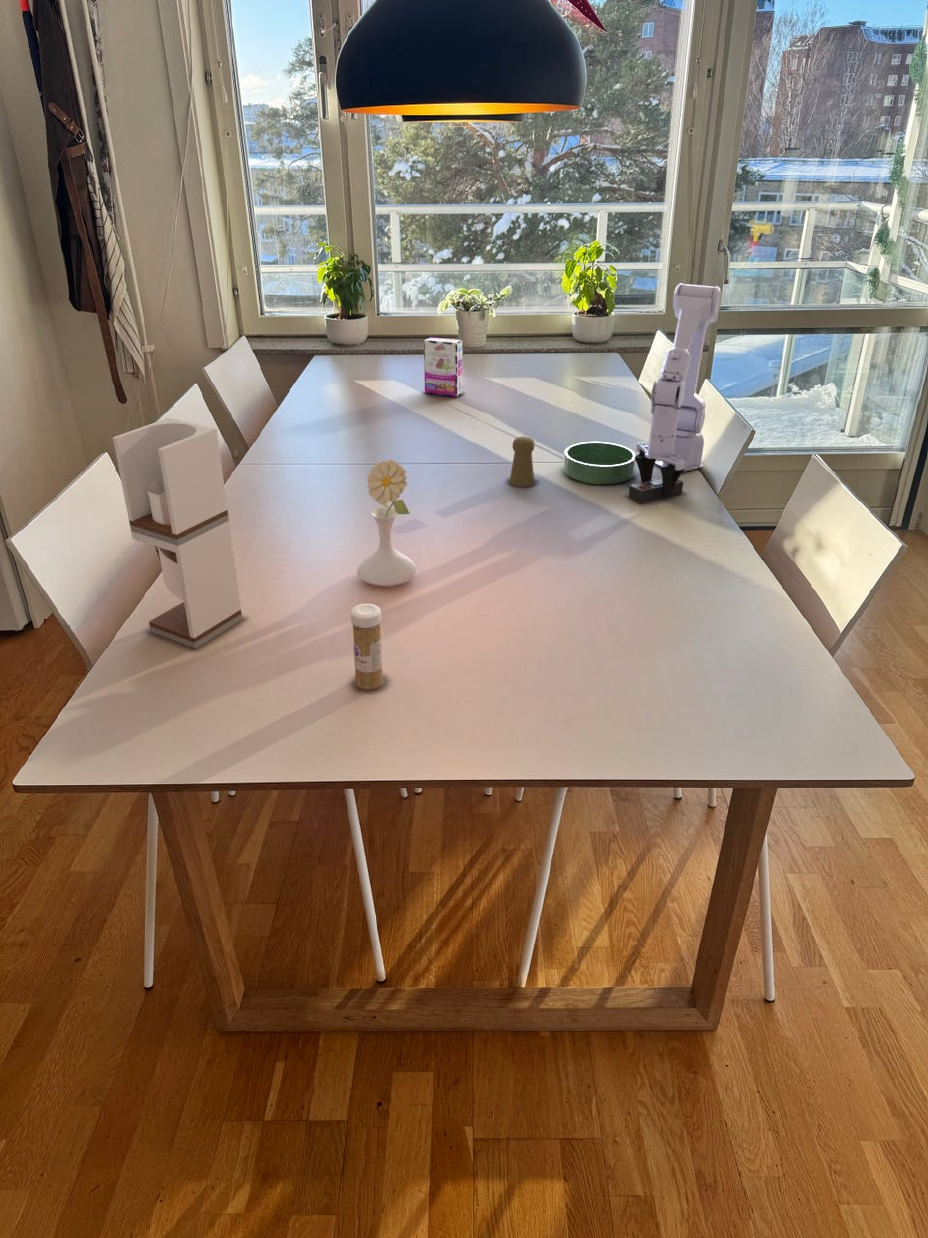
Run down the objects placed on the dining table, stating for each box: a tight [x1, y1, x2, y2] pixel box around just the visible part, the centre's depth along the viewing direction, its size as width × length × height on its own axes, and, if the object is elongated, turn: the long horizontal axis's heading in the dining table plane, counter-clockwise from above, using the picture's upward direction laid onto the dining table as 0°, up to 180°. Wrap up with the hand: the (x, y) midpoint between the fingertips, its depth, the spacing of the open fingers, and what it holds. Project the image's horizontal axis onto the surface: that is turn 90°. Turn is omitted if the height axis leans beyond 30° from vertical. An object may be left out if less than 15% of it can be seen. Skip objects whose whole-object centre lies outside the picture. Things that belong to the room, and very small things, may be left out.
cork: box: [509, 436, 535, 488], centre depth 215 cm, size 6×6×11 cm
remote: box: [628, 477, 684, 504], centre depth 210 cm, size 12×4×3 cm, turn 120°
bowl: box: [563, 441, 636, 486], centre depth 222 cm, size 17×17×5 cm
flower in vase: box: [356, 459, 417, 588], centre depth 167 cm, size 13×11×25 cm
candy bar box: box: [423, 336, 464, 398], centre depth 277 cm, size 11×5×16 cm, turn 67°
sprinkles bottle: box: [350, 603, 384, 691], centre depth 140 cm, size 5×5×13 cm
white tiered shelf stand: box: [112, 417, 243, 649], centre depth 149 cm, size 11×11×35 cm
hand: (655, 489), depth 210 cm, fingers open, 7 cm apart
